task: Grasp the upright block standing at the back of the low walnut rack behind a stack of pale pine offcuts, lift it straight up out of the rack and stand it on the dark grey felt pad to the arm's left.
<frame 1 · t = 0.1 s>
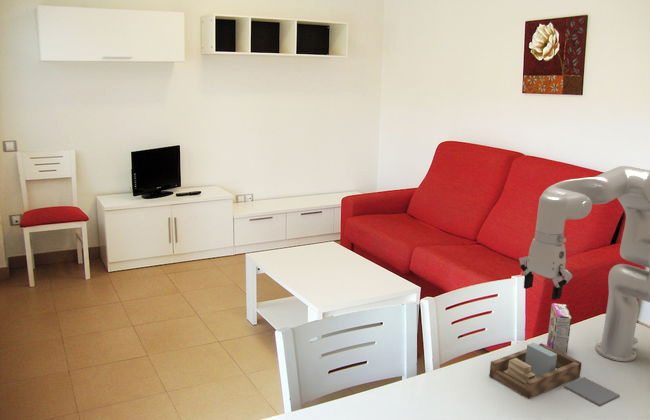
hand: (541, 293, 180), 31 cm above the table, tool pointing down, fingers open, 9 cm apart
felt pad: (591, 392, 187), on the table
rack: (534, 376, 195), on the table
offcut b: (520, 377, 191), point 2 cm above the table, touching offcut a, offcut c
block: (538, 375, 196), resting in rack
offcut c: (519, 369, 191), point 5 cm above the table, touching offcut b
offcut a: (518, 384, 191), resting in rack, touching offcut b
candy bar box: (555, 355, 210), on the table
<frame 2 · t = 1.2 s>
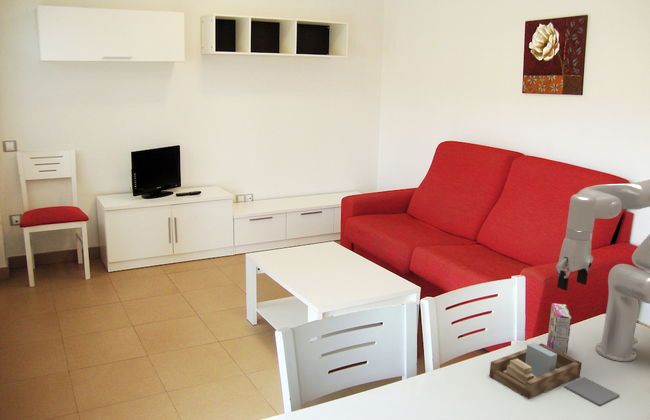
hand: (571, 286, 195), 28 cm above the table, tool pointing down, fingers open, 9 cm apart
offcut b: (519, 377, 190), point 2 cm above the table, touching offcut a
offcut c: (520, 369, 190), point 5 cm above the table
everything else where it was.
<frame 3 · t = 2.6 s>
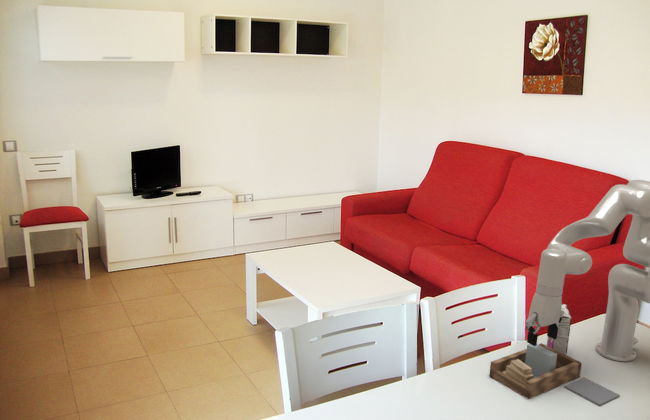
hand: (541, 340, 193), 12 cm above the table, tool pointing down, fingers open, 9 cm apart
nothing on the table moved.
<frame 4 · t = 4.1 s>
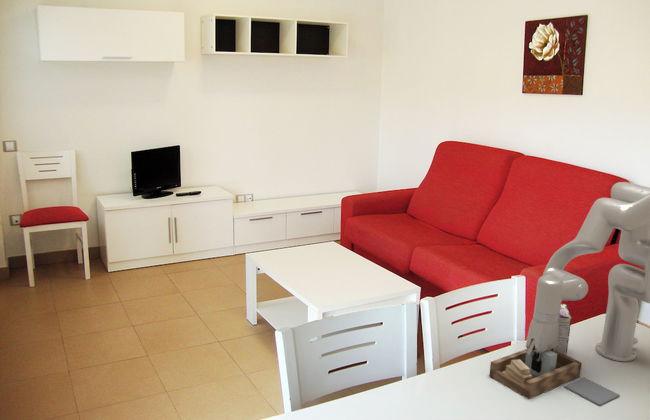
hand: (539, 368, 196), 2 cm above the table, tool pointing down, fingers closed on block, 3 cm apart
offcut b: (518, 377, 190), point 2 cm above the table, touching offcut a, offcut c
block: (538, 375, 196), resting in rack, touching gripper
offcut c: (519, 370, 190), point 4 cm above the table, touching offcut b
everything else where it was.
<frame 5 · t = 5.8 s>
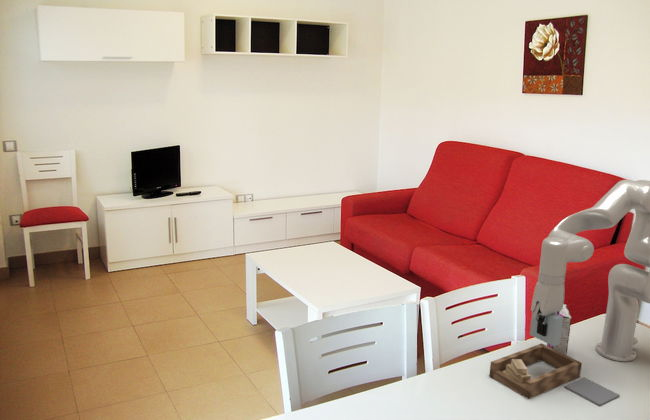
hand: (545, 332, 193), 15 cm above the table, tool pointing down, fingers closed on block, 3 cm apart
offcut b: (517, 377, 191), point 2 cm above the table, touching offcut a
block: (544, 339, 194), point 12 cm above the table, touching gripper
offcut c: (518, 369, 190), point 5 cm above the table
everything else where it was.
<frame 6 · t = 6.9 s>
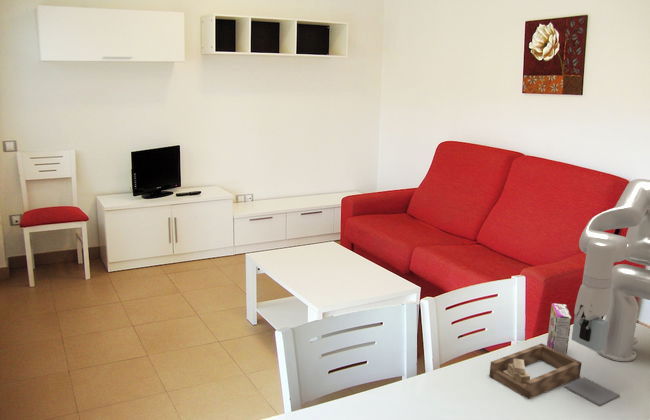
hand: (588, 337, 185), 17 cm above the table, tool pointing down, fingers closed on block, 3 cm apart
offcut b: (518, 377, 191), point 2 cm above the table, touching offcut a, offcut c
block: (587, 344, 186), point 15 cm above the table, touching gripper
offcut c: (518, 369, 190), point 4 cm above the table, touching offcut b
everything else where it was.
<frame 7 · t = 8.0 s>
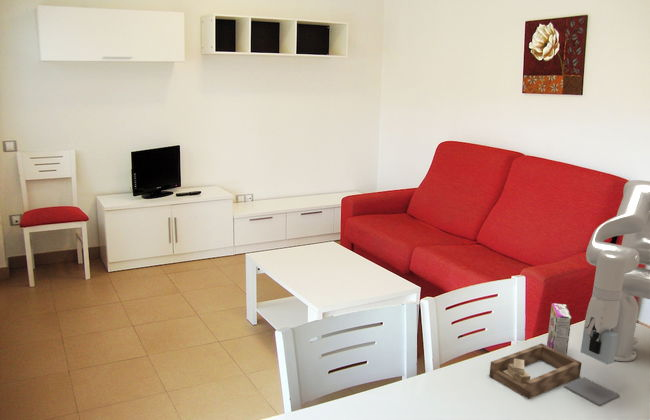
hand: (597, 350, 184), 14 cm above the table, tool pointing down, fingers closed on block, 3 cm apart
block: (596, 357, 184), point 12 cm above the table, touching gripper
everything else where it was.
when the fingers open (3 cm above the table, at t = 10.0 s): block stays where it is, resting on felt pad.
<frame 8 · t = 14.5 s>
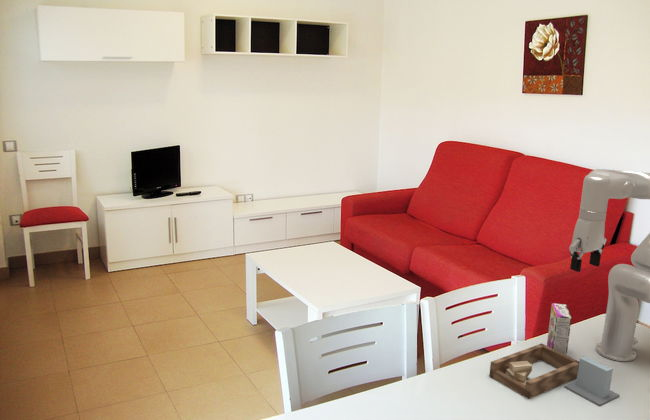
hand: (584, 267, 193), 34 cm above the table, tool pointing down, fingers open, 9 cm apart
offcut b: (522, 376, 192), point 2 cm above the table, touching offcut a, offcut c
block: (592, 390, 187), point 1 cm above the table, touching felt pad
at the end: block inside the target area on the felt pad (0.1 cm from its centre), point 0.6 cm above the felt pad's base; block tilted 0°; the gripper is holding nothing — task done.
